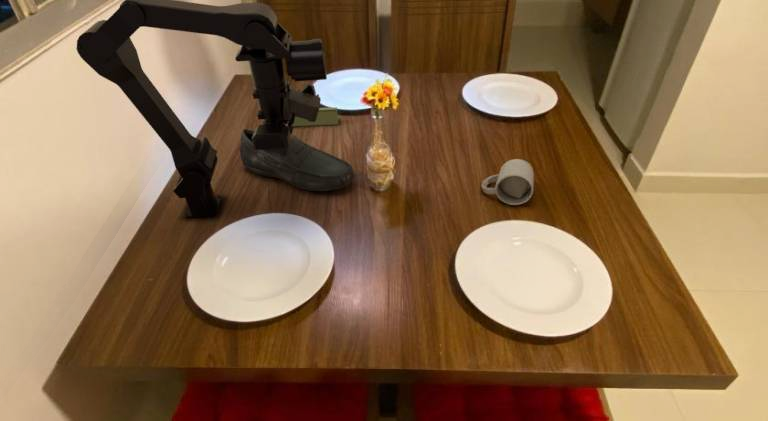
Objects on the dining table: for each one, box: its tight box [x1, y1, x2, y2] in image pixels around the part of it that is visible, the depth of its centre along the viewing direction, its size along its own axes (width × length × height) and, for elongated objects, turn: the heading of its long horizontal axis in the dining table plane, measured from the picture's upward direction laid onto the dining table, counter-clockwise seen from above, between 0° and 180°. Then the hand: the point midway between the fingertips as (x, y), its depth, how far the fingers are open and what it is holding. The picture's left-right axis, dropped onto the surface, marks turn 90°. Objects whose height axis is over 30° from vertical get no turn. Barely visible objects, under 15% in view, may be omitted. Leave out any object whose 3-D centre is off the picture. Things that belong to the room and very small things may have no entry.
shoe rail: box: [291, 107, 339, 127], centre depth 121 cm, size 2×18×5 cm, turn 93°
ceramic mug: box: [481, 158, 535, 206], centre depth 95 cm, size 11×8×8 cm
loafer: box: [238, 128, 355, 192], centre depth 100 cm, size 10×29×10 cm, turn 71°
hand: (284, 155), depth 89 cm, fingers closed
